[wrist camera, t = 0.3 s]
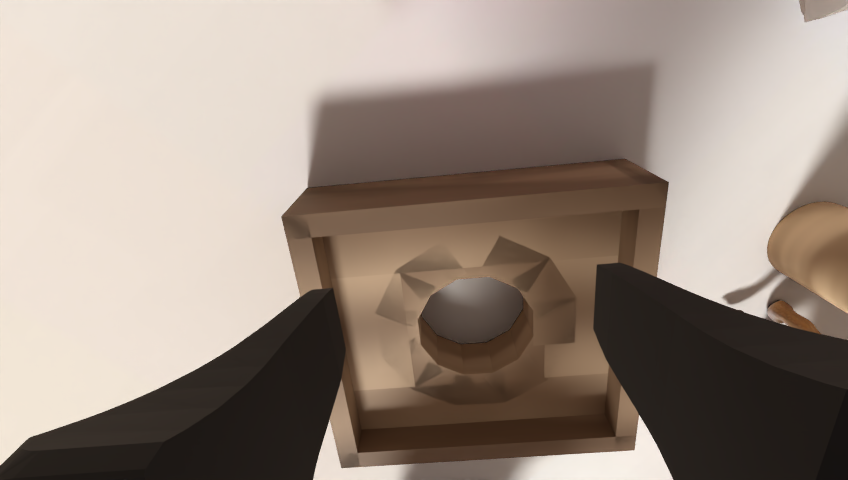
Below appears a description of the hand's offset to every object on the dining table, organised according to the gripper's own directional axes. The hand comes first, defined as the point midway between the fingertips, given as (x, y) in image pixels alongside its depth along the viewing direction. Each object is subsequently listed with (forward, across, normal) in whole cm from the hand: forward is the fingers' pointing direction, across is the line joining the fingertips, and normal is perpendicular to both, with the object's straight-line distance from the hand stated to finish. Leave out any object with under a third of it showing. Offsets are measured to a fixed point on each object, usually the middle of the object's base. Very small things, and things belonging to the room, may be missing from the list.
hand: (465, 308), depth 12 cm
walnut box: (+10, -1, +6) cm, 11 cm away
